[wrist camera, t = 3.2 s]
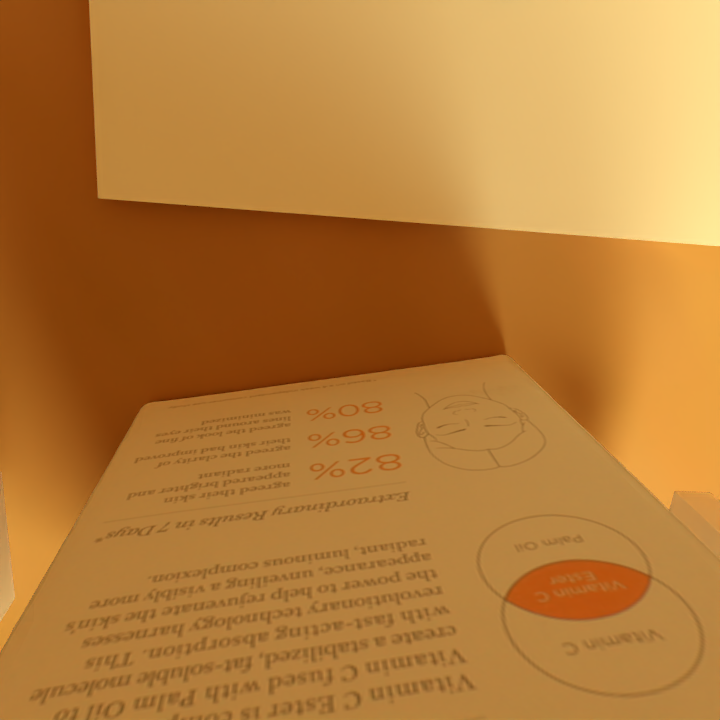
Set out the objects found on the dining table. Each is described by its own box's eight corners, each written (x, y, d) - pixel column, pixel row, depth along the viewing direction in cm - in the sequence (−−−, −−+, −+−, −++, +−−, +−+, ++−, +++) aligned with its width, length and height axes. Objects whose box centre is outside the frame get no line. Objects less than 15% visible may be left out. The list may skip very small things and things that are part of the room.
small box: (190, 609, 15) (-17, 1500, 5) (140, 393, 13) (-332, 1140, 3) (518, 561, 16) (907, 1303, 6) (514, 347, 14) (1082, 886, 4)
